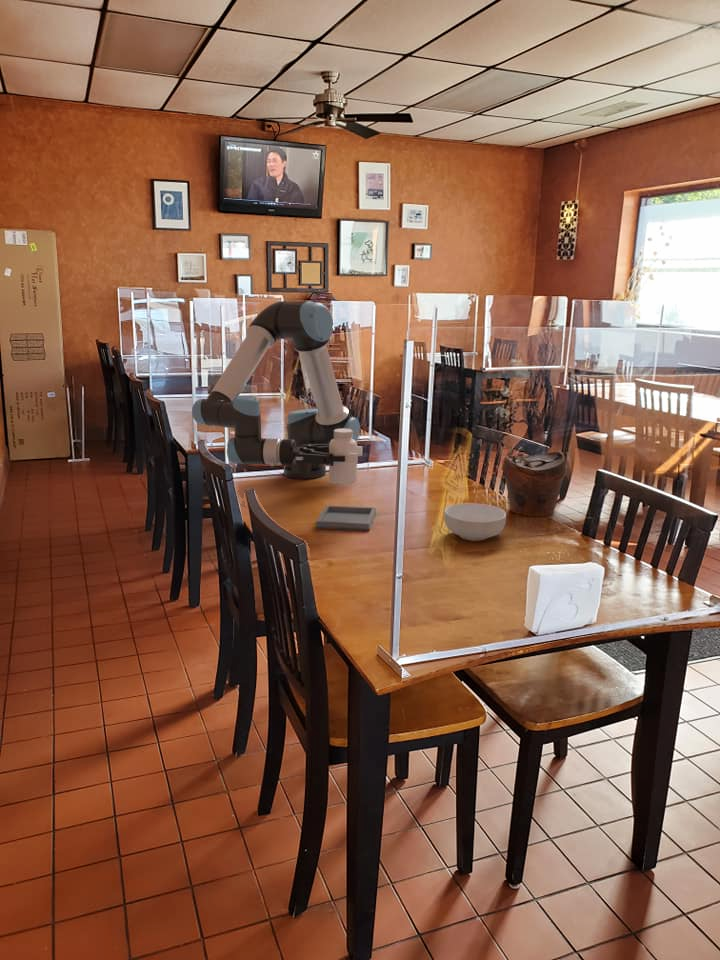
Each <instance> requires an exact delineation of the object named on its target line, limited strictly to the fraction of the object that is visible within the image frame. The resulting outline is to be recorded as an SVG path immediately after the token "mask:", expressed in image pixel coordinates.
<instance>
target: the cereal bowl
mask: <svg viewBox="0 0 720 960" xmlns="http://www.w3.org/2000/svg"><path fill="white" fill-rule="evenodd" d="M443 513H444V515H443V518H444V519H443V520H444V524H445V526H446V527H447V528H448V530H449V531H450V532H452V533H453V534H455V535H457V536H459V538H461V539H464V540H467V541H471V542H472V541H473V542H475V541H476V542H477V541H478V542H480V541H483V540H487V539H488V538H492V537H495V536H497V535H498V534H500V533H501V532H502V531H503V530H504V528H505V525H506V522H507V513H506V511H505V510H503V508H500V507H497V506H495V505H491V504H490V505H489V504H484V503H476V502H473V503H472V502H466V503H465V502H463V503H456V504H451V505H448V506H446V508H444V512H443Z"/></svg>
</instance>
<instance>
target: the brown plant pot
mask: <svg viewBox="0 0 720 960" xmlns="http://www.w3.org/2000/svg"><path fill="white" fill-rule="evenodd" d="M566 465H567V464H566V456H565V454H564V453H563V452H560V451H551V452H547V453H546V452H545V453H539V454H534V455H527V456H520V455H506V456H505V457H504V459H503V462H502V466H501V469H502V472H503V474H504V479H505V483H506V491H507V495H508V496H507V498H508V503H509V510H510V512H512V513H514V514H516V515H520V516H525V517H544V516H545V517H546V516H549V515H553V513H554V512H555V509H556V505H557V501H558V498H559V494H560V490H561V488H562V484H563V481H564V476H565V474H566V471H567V467H566Z"/></svg>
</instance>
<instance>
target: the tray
mask: <svg viewBox="0 0 720 960" xmlns="http://www.w3.org/2000/svg"><path fill="white" fill-rule="evenodd" d="M376 515H377V507H375V506H370V507H369V506H356V505H355V506H353V505H352V506H351V505H350V506H348V505H328V504H327V505H325V507H324V508H323V510H322V512H321V513H320V514H319V516H318V518H317V519H316V522H315V524H316V526H315V527H316V529H318V530H319V529H320V530H344V531H347V530H348V531H363V532H364V531H366V532H367V531H368V532H370V530H371V527H372V525H373V522H374V520H375V518H376Z"/></svg>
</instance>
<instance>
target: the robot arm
mask: <svg viewBox="0 0 720 960" xmlns="http://www.w3.org/2000/svg"><path fill="white" fill-rule="evenodd" d="M333 327H334V320H333V316H332V313H331V312H330V309H329V308H328V307H327V306H326V305H325V304H323V303H321V302H316V301H315V302H314V301H310V300H308V301H284V300H283V301H276V302H274V303H272V304H270V305H268V306H266V307H265V308H264V309H263V310H261V311H260V312H259V313H258V314H257V315H256V316H255V317H254V318H253V319H252V321H251V322H250V324H249V326H248V327H247V329H246V336H245V338H244V340H243V341H242V342H241V344H240V346H239V347H238V349H237V351H236V352H235V353H234V355H233V357H232V358H231V360H230V361H229V362H228V364H227V366H226V368H225V369H224V371H223V373H222V374H221V376H220V377H219V379H218V380H217V382H216V383H215V385H214V387H213V388H212V390H211V391H210V393H209V394H208V396H207V397H206V398H199V399H197V400H196V401H195V402H194V403H193V405H192V409H191V414H192V418H193V420H194V421H195V422H196V424H197V423H198V424H200V425H204V426H208V427H212V426H213V427H221V428H227V429H234V437H231V438H229V439H228V441H227V445H226V446H227V447H226V456H227V459H228V461H229V462H230V463H233V464H234V463H235V464H243V465H270V467H272V468H273V467H274V466H280V465H282V466H283V476H285V477H288V478H291V479H297V480H298V479H299V480H304V479H305V480H307V479H308V480H310V479H317V478H321V477H323V476H325V475H326V474H327V466H329V464H330V466H333V462H334V463H354V464H357V465H358V463H359V462H358V460H359V458H358V457H362V456H363V446H361V445H360V446H358V445H357V453H334V455H333V454H331V453H329V443H330V441H331V440H332V439H335V438H334V430H335V429H342V428H344V429H351V430H352V431H353V437H352V439H354V440H355V441H356V442H358V440H359V436H360V431H361V427H360V422H359V419H358V418H356V417H354V416H351V415H350V411H349V408H348V407H347V406H345V405H343V401H342V398H341V393H340V391H339V387H338V383H337V380H336V379H337V378H336V376H335V373H334V372H335V371H334V369H333V364H332V360H331V358H330V353H329V349H328V347H327V345H328V344H329V343H330V338H331V336H332V335H333V331H334V328H333ZM281 340H289V341H290V340H291V343H292V345H293V349H294V350H295V351H296V352H297V353H300V356H301V358H302V362H303V366H304V368H305V373H306V376H307V379H308V383H309V386H310V389H311V393H312V395H313V400H314V403H315V406H316V408H307V409H306V408H305V409H303V408H302V409H299V410H294V411H290V412H289V413H288V415H287V419H286V422H287V423H286V429H287V431H286V432H287V438H286V439H285V438H283V439H281V438H262V426H261V423H262V421H261V414H262V413H261V411H262V410H261V407H260V405H261V404H260V399H259V398H258V397H257V396H254V395H241V393H242V391H243V390H244V388H245V387H246V386H247V383H248V381H249V380H250V378H251V377H252V375H253V373H254V372H255V370H256V369H257V367H258V365H259V364H260V362H261V360H262V359H263V357H264V356H265V354H266V353H267V351H268V349H271V348H273V347H274V345H275V344H276V343H277V342H278V341H281ZM326 465H327V466H326Z"/></svg>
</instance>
